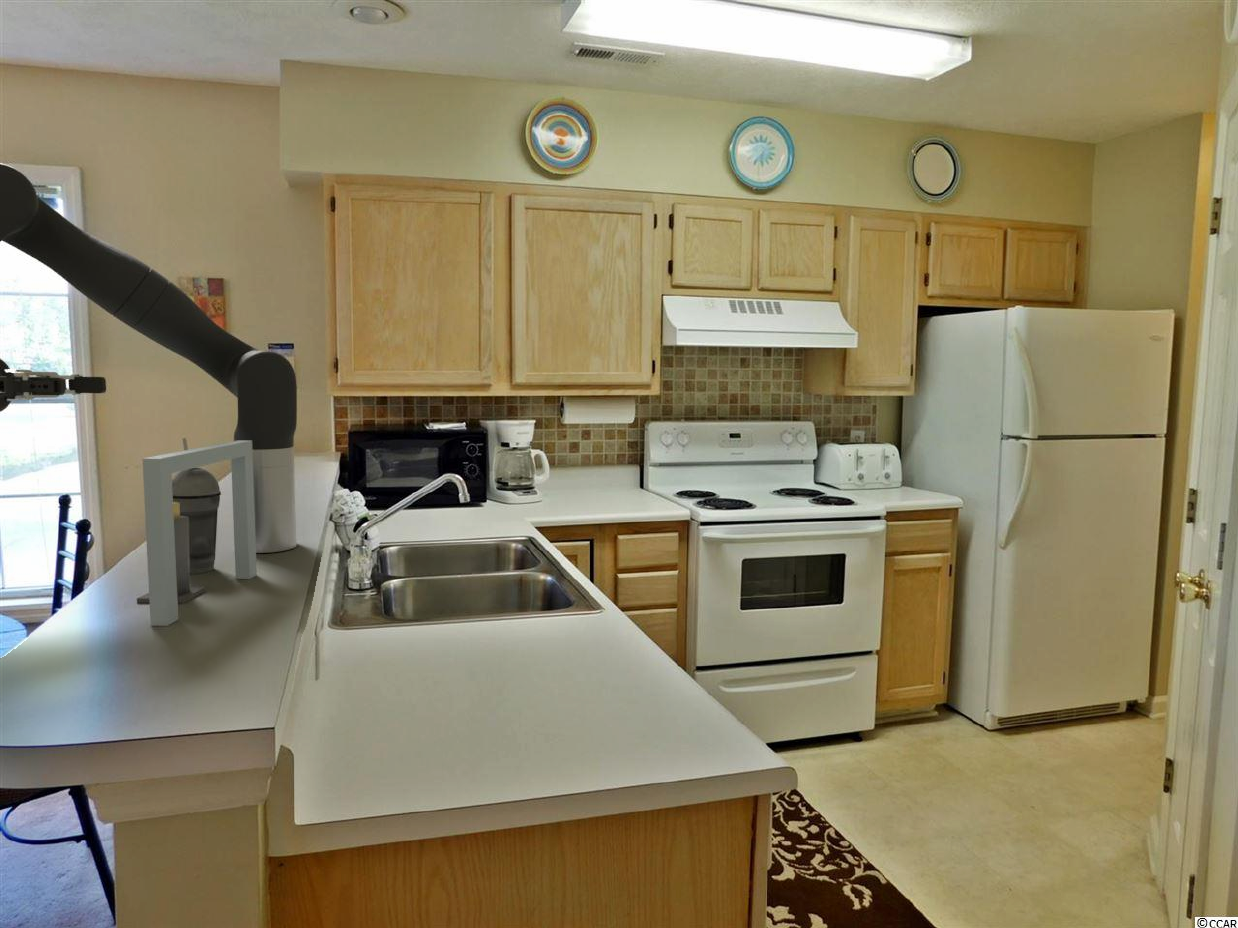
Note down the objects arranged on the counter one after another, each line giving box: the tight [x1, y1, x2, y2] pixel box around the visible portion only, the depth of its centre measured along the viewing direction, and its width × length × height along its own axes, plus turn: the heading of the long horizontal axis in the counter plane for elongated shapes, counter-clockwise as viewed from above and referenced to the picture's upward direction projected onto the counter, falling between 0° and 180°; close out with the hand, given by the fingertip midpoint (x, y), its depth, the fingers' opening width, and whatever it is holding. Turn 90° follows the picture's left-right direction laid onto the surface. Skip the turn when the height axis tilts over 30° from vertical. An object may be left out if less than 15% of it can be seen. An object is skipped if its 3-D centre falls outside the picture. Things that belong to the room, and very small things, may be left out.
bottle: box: [173, 502, 191, 596], centre depth 113 cm, size 4×4×12 cm
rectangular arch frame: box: [142, 440, 258, 627], centre depth 113 cm, size 25×2×20 cm, turn 0°
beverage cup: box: [172, 437, 222, 575], centre depth 127 cm, size 7×7×20 cm
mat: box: [136, 586, 206, 604], centre depth 114 cm, size 6×6×1 cm
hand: (84, 385), depth 110 cm, fingers open, 8 cm apart
